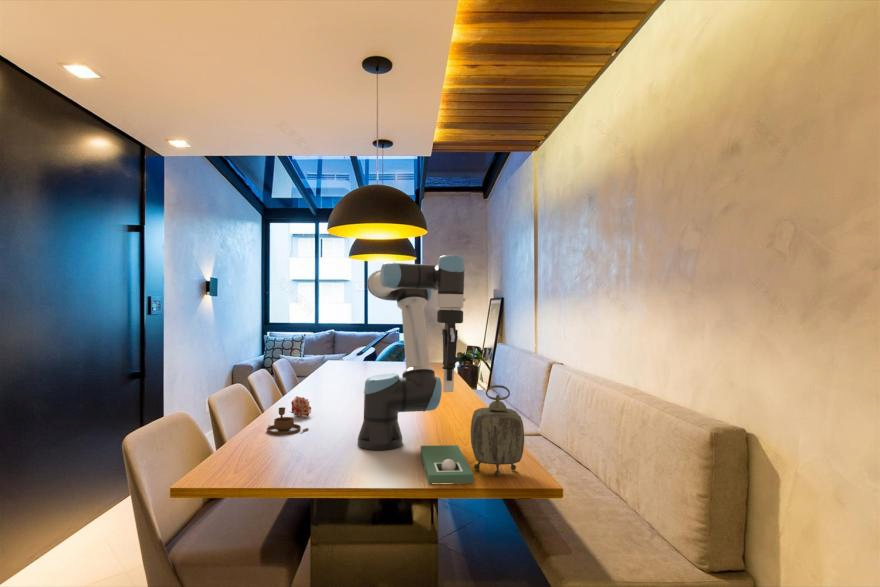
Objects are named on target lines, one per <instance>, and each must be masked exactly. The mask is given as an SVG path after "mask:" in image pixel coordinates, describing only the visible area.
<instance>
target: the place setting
mask: <svg viewBox="0 0 880 587" xmlns="http://www.w3.org/2000/svg"><path fill="white" fill-rule="evenodd" d="M285 414H286V407H283V406H282V407H278V415H279V416H280V417H276V418H274V420H273V421H274V422H273V424H268V425H267V427H266V432H267V433H268V434H269V435H274V436H287V435H288V436H289V435H292V434H297V433H298V432H300V430H301V428H302V426H301V425H300V424H297V423H295V418H294V417H291V416H283V415H285ZM291 429H293V430H291ZM273 430H276V431H273ZM308 431H309V428H308V427H306V428H304V429H302V432H300V433H299V435H302V434H303V433H305V432H308Z"/></svg>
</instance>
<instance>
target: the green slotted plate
mask: <svg viewBox="0 0 880 587" xmlns="http://www.w3.org/2000/svg"><path fill="white" fill-rule="evenodd" d="M420 457H421V461H422V463H423V464H424V465H423V468H425V469H424V472H426V473H425V477H426V476H427V477H426V479H427V480H428V481H427V484H428V483H429V484H432V483H473V484H474V472H473V471H472V469H471V467H470V466H469V464H468V462H467V460H466V458H465V456H464V455H463V452H462V451H461V449H460V447H459V445H458V444H457V445H456V444H455V445H451V444H450V445H420ZM446 459H451V460H453V461H454V462H455V465H456V468H455V471H443V470H442V463H443V461H444V460H446Z"/></svg>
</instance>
